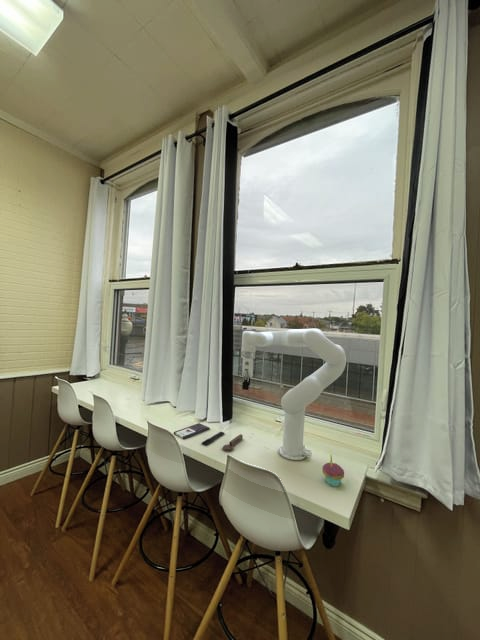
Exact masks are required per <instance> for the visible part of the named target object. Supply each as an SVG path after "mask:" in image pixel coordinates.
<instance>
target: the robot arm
mask: <svg viewBox="0 0 480 640" xmlns="http://www.w3.org/2000/svg"><path fill="white" fill-rule="evenodd" d="M270 346H271V347H272V346H285V347H287V348H288V347H289V348H298V347H300V348H301V347H302V348H303V347H307V348H309V349H310V350H311V351H312V352H313V353H315V355H317V356H318V357H319V358H320V359H322V360H323V361H324V362H325V363H324V364H323V365H322V366H320V367H319V368H318V369H317V370H315V371H314V372H313V373H311V374H310V375H308V376H306V377H305V378H303V380H302V381H300V382H299V383H298V384H297V385H295V386H294V387H292V388H290V389H288V390H287V391H286V392H285V393H284V394H283V396H282V397H281V399H280V405H281V406H280V407H281V408H282V410H283V411H284V417H283V419H284V420H283V421H284V422H283V437H282V446H281V447H280V448H279V454H280V456H281V457H283V458H284V459H288V460H290V461H291V460H292V461H301V460H304V459H305V458H306V456H307V457H310V458H311V457H312V454H313V453H312V452H311V449H308V448H306V445H305V444H304V436H305V433H304V432H305V418H306V417H305V416H306V407H308V406H309V405H311V404H312V403H313V402H315V401H316V400H317V399H318V398H319V397H320V396H321V394H322V392H323V391H324V390H325V389H326V388H328V387H329V386H330V385H331V384H332V383H334V382H335V381H336V380H337V379H339V378H340V377H341V376H342V374H343V373H344V371H345V369H346V365H347V356H346V351H345V349H344V348H343V346H341V345H339V344H337V343H336V344H335V343H334V342H332V340H331V339H329V338H327V336H325V334H324V333H323V331H322V330H321V329H319V328H315V327H314V328H298V329H297V328H296V329H294V328H293V329H286V330H278V331H277V330H276V331H253V330H244V331H242V334H241V349H240V350H241V351H240V358H242V370H241V371H242V372H241V375H242V376H241V377H242V384H241V385H242V387H241V389H242V390H243V391H248V390H250V389H249V387H250V385H251V378H253V375H254V359H256V353H257V347H259V348H264V347H270Z"/></svg>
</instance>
